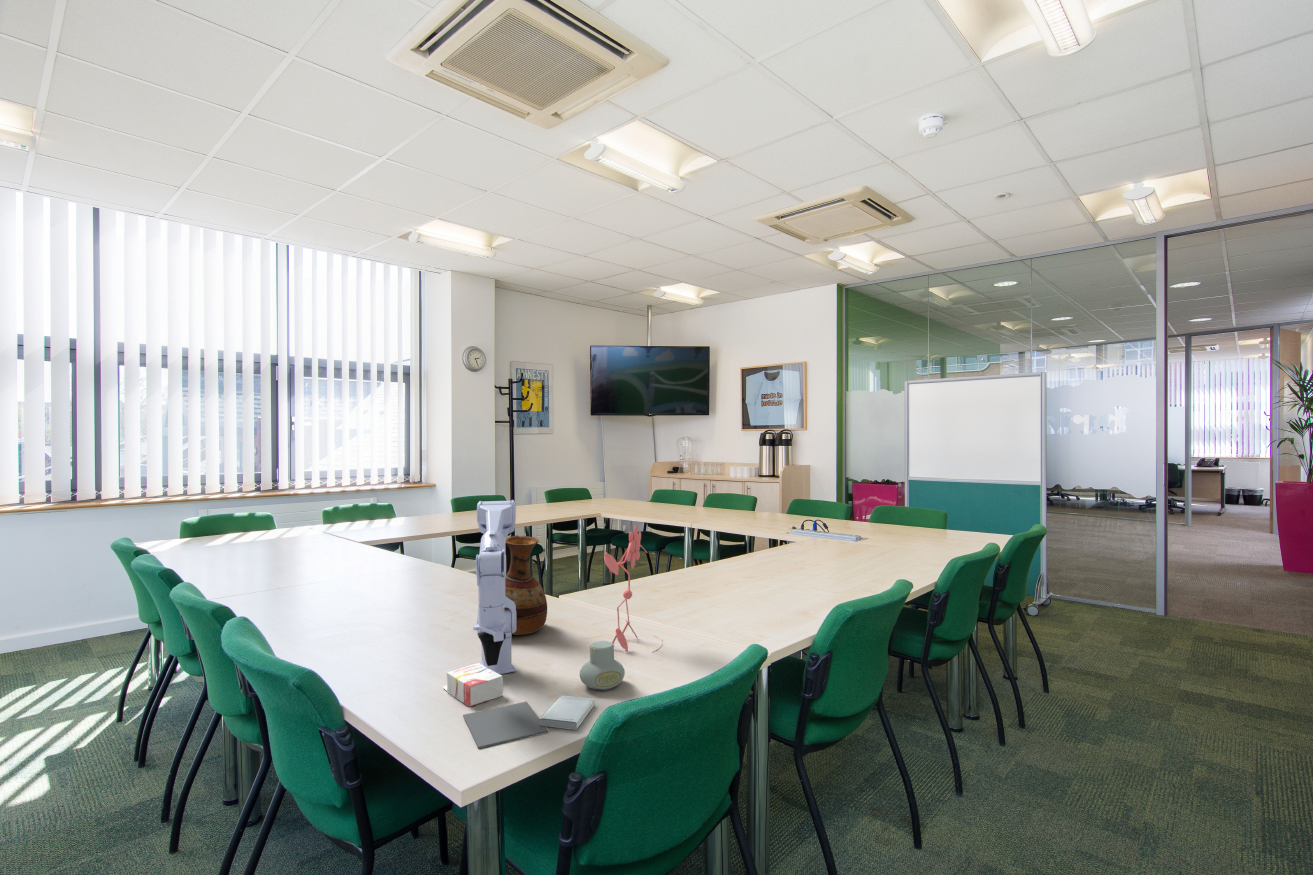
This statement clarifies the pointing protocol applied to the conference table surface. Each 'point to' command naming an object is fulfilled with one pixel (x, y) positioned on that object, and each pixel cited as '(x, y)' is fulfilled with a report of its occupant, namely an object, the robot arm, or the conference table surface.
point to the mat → (503, 724)
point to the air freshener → (602, 667)
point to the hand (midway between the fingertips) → (491, 664)
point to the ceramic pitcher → (524, 586)
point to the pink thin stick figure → (613, 567)
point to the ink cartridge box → (474, 684)
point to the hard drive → (567, 712)
